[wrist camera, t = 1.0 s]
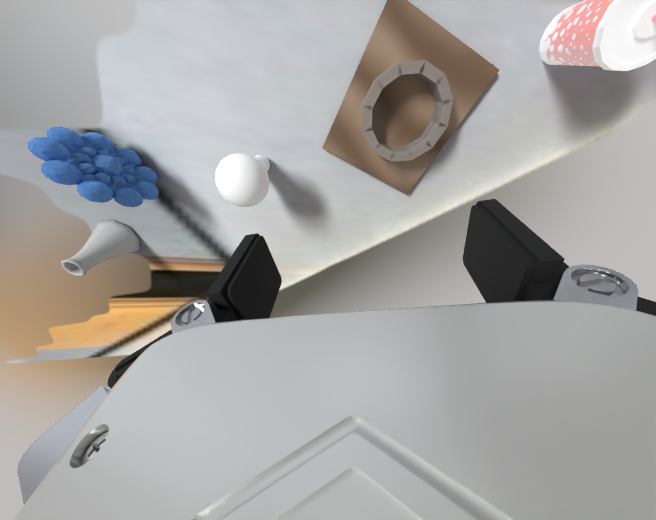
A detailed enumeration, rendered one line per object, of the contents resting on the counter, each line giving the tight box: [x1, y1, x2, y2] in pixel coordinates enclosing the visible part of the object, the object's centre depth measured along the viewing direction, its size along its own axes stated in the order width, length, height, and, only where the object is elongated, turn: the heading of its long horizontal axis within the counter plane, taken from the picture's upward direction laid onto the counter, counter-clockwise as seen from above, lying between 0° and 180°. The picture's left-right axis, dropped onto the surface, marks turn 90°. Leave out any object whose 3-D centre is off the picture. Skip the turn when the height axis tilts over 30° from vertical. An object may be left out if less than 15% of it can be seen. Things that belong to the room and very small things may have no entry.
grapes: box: [28, 127, 159, 207], centre depth 31 cm, size 12×7×12 cm, turn 35°
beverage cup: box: [539, 0, 656, 71], centre depth 19 cm, size 6×6×14 cm
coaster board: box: [323, 0, 499, 194], centre depth 28 cm, size 16×14×4 cm
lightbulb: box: [215, 153, 270, 207], centre depth 30 cm, size 6×6×11 cm
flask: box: [61, 220, 139, 276], centre depth 41 cm, size 7×7×10 cm
